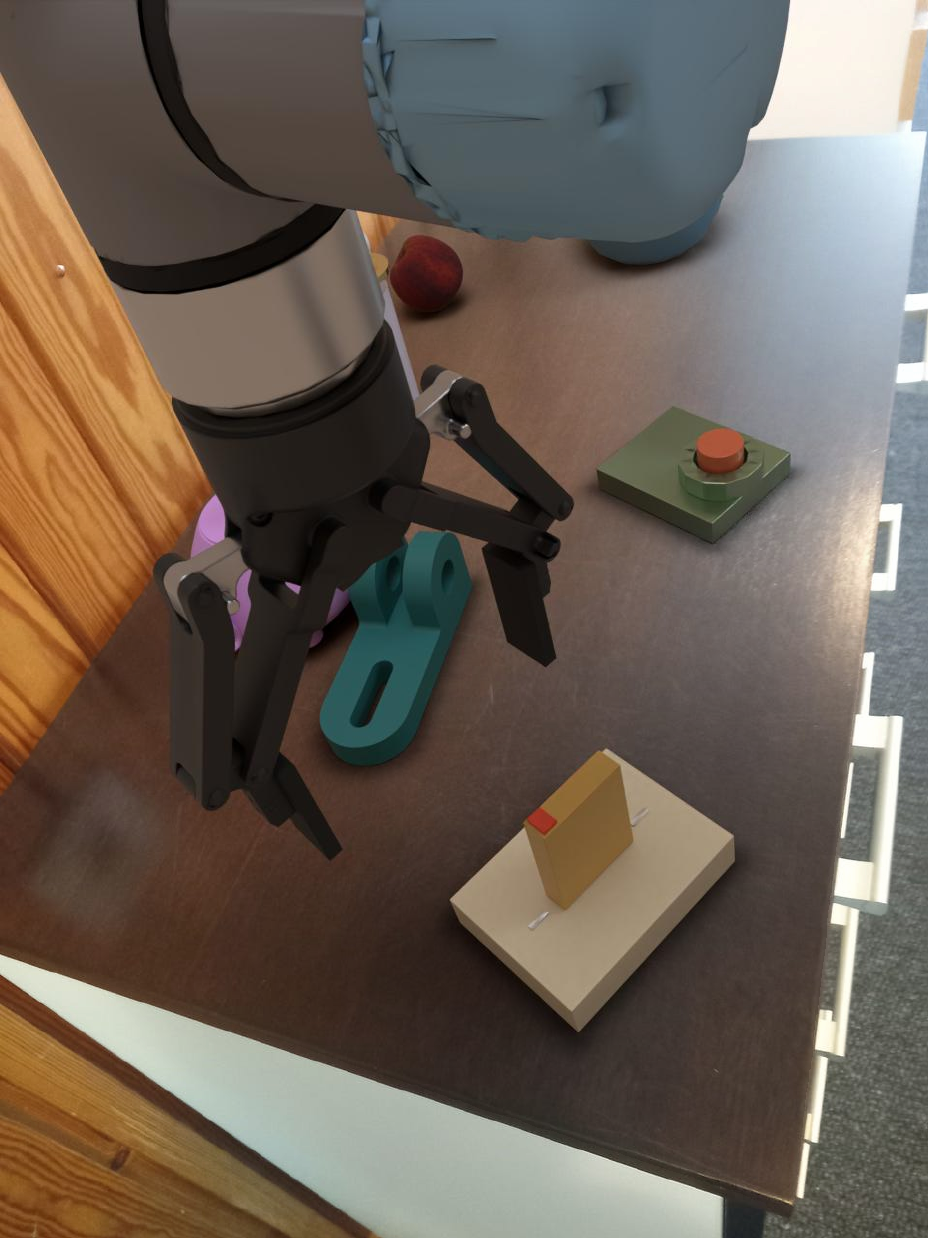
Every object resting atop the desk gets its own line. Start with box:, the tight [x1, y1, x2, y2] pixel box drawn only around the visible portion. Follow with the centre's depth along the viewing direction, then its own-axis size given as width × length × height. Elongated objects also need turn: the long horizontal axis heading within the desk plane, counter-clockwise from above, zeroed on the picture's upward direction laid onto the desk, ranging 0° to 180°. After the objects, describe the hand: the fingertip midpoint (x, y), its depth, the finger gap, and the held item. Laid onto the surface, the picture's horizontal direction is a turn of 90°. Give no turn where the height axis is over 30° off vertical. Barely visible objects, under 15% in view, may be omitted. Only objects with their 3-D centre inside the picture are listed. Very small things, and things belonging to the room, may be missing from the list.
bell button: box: [696, 428, 744, 474], centre depth 81 cm, size 4×4×2 cm
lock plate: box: [449, 748, 736, 1033], centre depth 62 cm, size 14×10×3 cm
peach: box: [389, 234, 464, 313], centre depth 111 cm, size 7×8×8 cm
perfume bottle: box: [363, 231, 421, 401], centre depth 94 cm, size 6×6×20 cm
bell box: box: [596, 405, 792, 544], centre depth 85 cm, size 12×10×4 cm
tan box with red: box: [522, 749, 633, 910], centre depth 58 cm, size 6×2×8 cm, turn 133°
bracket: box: [319, 530, 473, 767], centre depth 76 cm, size 18×7×8 cm, turn 163°
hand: (430, 739), depth 48 cm, fingers open, 13 cm apart
